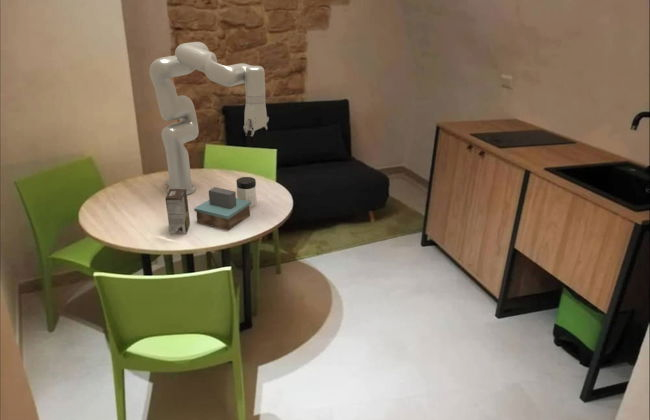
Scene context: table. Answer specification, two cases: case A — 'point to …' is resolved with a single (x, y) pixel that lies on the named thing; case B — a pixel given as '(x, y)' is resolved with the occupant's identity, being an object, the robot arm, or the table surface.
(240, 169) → the table surface
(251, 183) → the jar
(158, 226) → the table surface
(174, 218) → the coffee box
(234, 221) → the box
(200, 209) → the lid
